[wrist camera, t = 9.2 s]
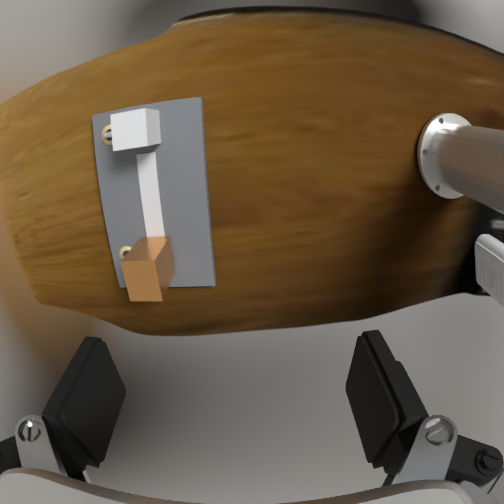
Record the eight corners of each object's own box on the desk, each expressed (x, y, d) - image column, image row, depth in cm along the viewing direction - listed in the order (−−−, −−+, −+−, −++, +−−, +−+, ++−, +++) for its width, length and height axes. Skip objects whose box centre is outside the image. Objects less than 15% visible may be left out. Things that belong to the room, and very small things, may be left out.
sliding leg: (170, 236, 36) (154, 260, 29) (175, 272, 38) (162, 301, 31) (120, 239, 36) (97, 262, 29) (127, 273, 38) (108, 300, 31)
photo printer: (489, 274, 42) (528, 308, 31) (474, 285, 43) (512, 322, 31) (487, 229, 38) (534, 259, 27) (471, 239, 39) (518, 272, 28)
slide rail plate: (202, 98, 31) (193, 91, 25) (216, 280, 41) (211, 306, 35) (97, 115, 31) (71, 115, 25) (123, 282, 41) (107, 306, 35)
